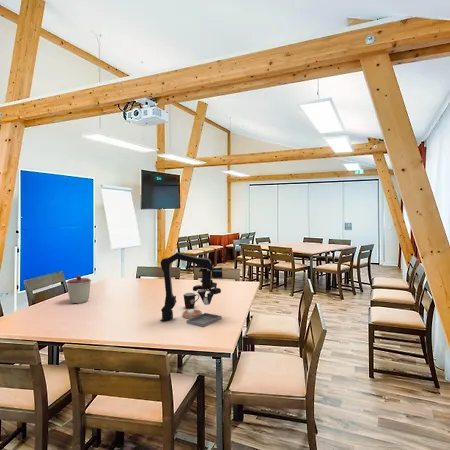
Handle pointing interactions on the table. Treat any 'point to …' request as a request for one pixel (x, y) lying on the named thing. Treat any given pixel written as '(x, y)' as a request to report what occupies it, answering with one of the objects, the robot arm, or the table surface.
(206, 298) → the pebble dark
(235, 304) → the table surface
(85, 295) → the canister
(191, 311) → the pebble light
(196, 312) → the terracotta dish
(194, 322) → the parts tray
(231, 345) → the table surface
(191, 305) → the coffee mug
